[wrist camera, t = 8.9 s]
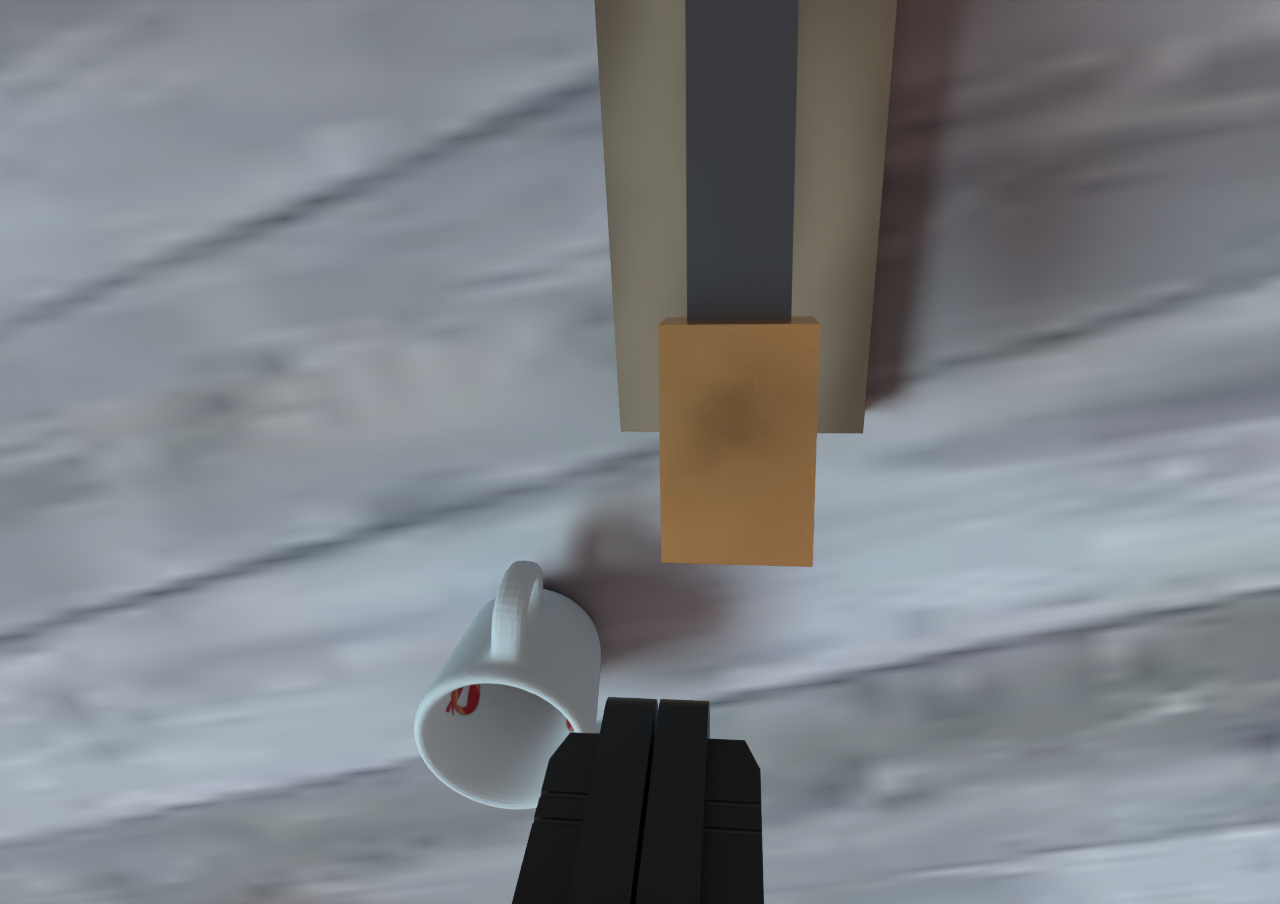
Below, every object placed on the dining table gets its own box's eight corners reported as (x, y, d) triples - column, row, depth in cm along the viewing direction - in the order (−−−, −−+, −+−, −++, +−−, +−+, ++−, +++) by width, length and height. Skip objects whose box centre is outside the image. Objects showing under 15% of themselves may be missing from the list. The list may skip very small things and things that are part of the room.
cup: (460, 509, 41) (400, 611, 34) (623, 527, 41) (596, 634, 34) (468, 680, 46) (417, 799, 39) (614, 698, 46) (589, 822, 39)
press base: (626, 412, 38) (600, 495, 31) (583, -361, 26) (526, -489, 20) (857, 413, 37) (881, 500, 30) (918, -397, 25) (979, -546, 18)
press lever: (670, 529, 28) (661, 562, 25) (661, -336, 22) (648, -421, 20) (805, 532, 28) (812, 566, 25) (831, -354, 22) (844, -443, 19)
